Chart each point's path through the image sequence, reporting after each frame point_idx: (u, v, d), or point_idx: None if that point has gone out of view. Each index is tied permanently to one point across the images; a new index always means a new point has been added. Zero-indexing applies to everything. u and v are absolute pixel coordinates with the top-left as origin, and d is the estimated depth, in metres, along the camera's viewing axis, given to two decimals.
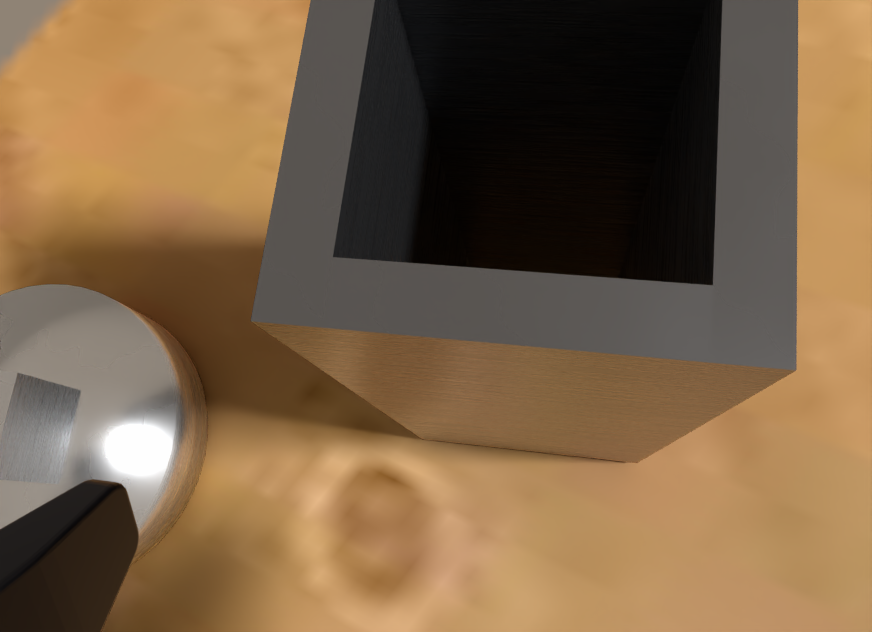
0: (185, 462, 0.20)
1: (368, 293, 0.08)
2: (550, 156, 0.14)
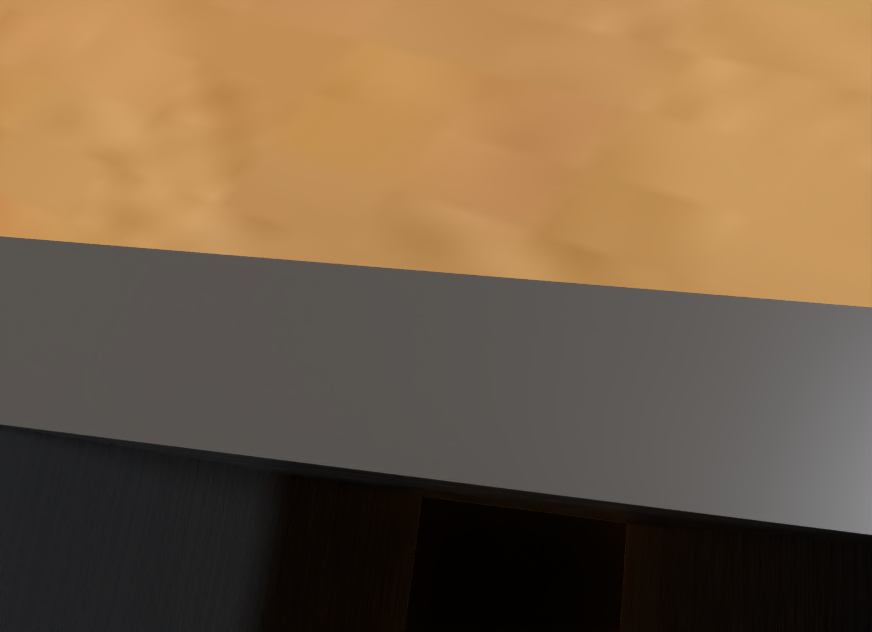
0: None
1: None
2: (515, 504, 0.08)
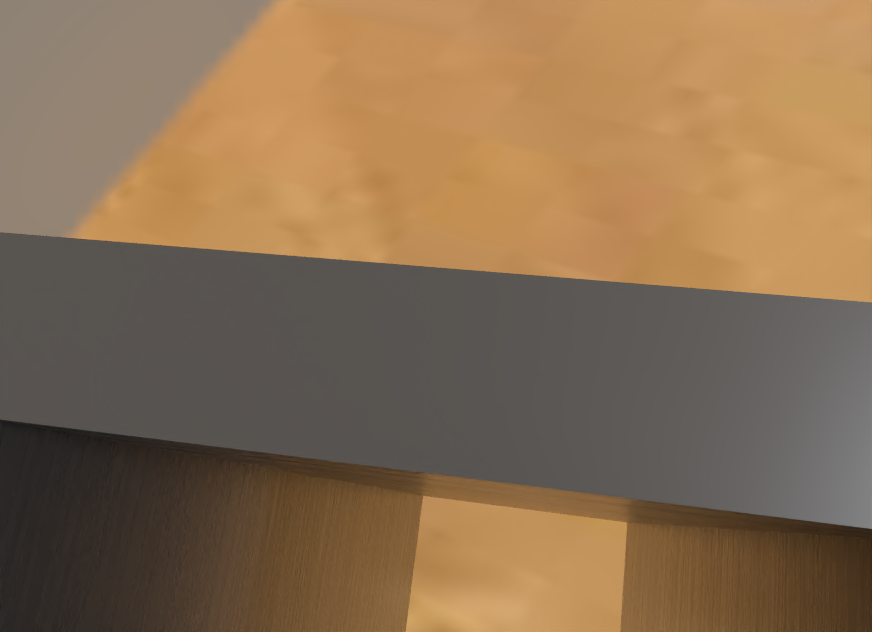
0: None
1: None
2: (517, 503, 0.08)
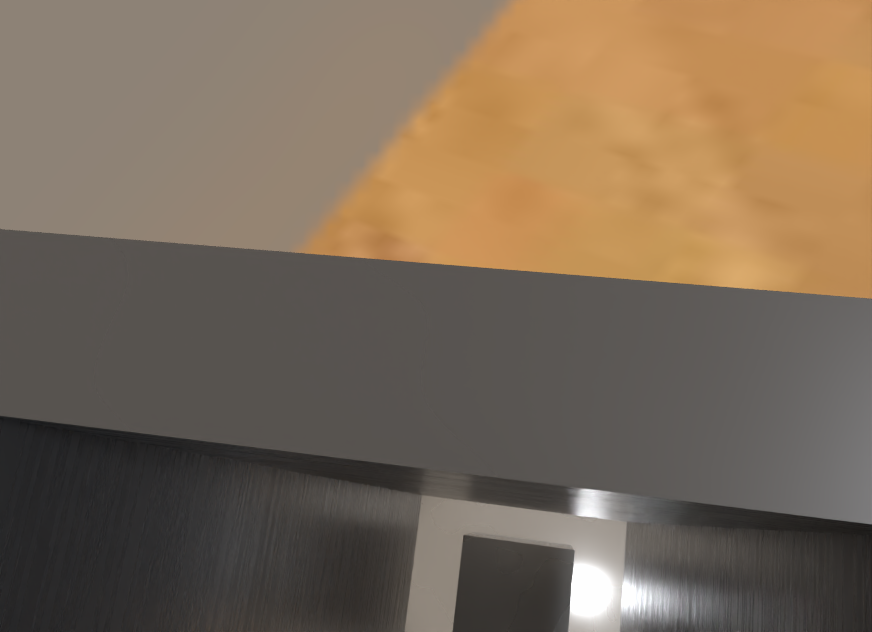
0: None
1: None
2: (515, 501, 0.08)
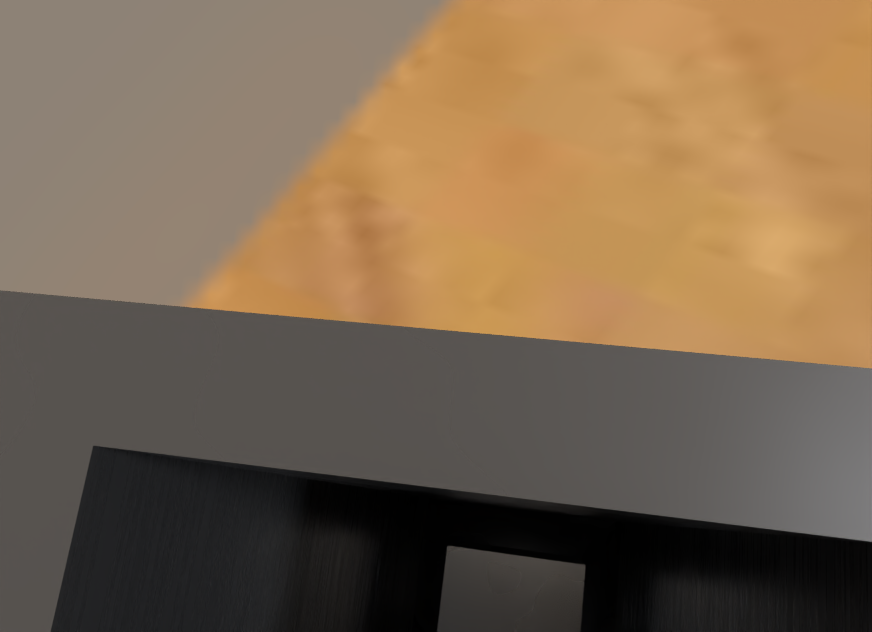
0: None
1: None
2: None
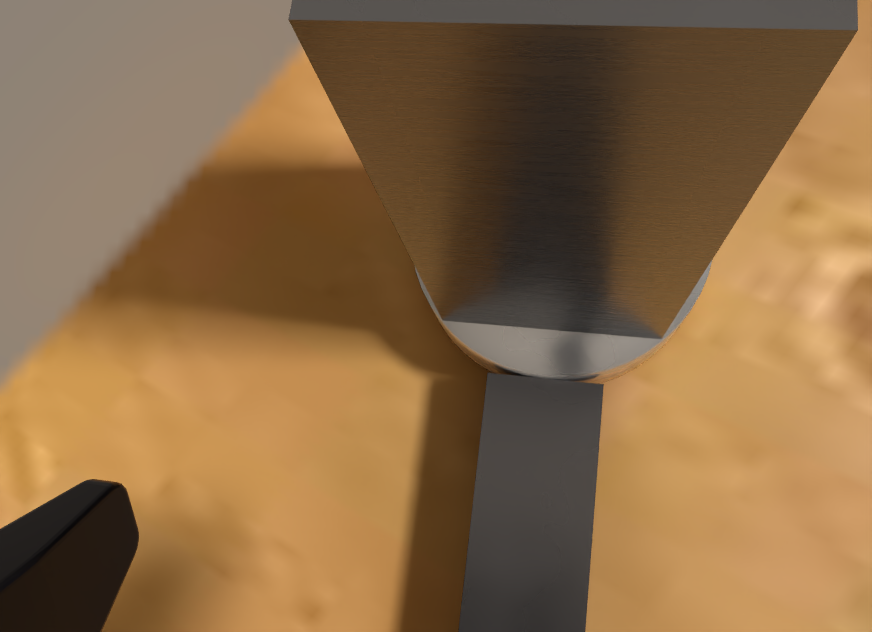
0: None
1: None
2: None
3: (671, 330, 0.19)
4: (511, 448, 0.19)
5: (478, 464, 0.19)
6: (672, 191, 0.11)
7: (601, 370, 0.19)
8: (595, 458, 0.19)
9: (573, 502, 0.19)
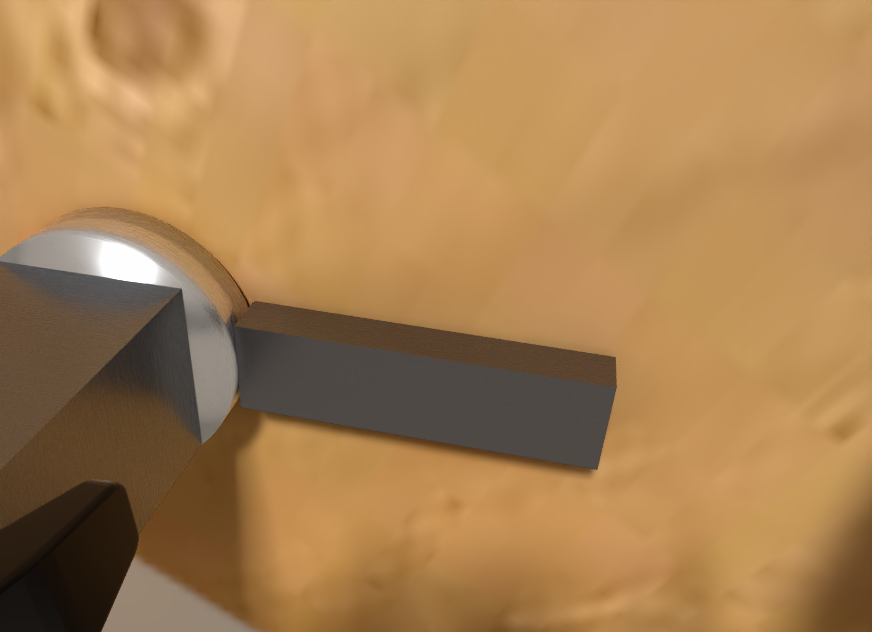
0: (110, 224, 0.21)
1: None
2: None
3: (172, 280, 0.21)
4: (298, 396, 0.23)
5: (314, 419, 0.23)
6: None
7: (218, 335, 0.22)
8: (296, 338, 0.22)
9: (334, 356, 0.22)
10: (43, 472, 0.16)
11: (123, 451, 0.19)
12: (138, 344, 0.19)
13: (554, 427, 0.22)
